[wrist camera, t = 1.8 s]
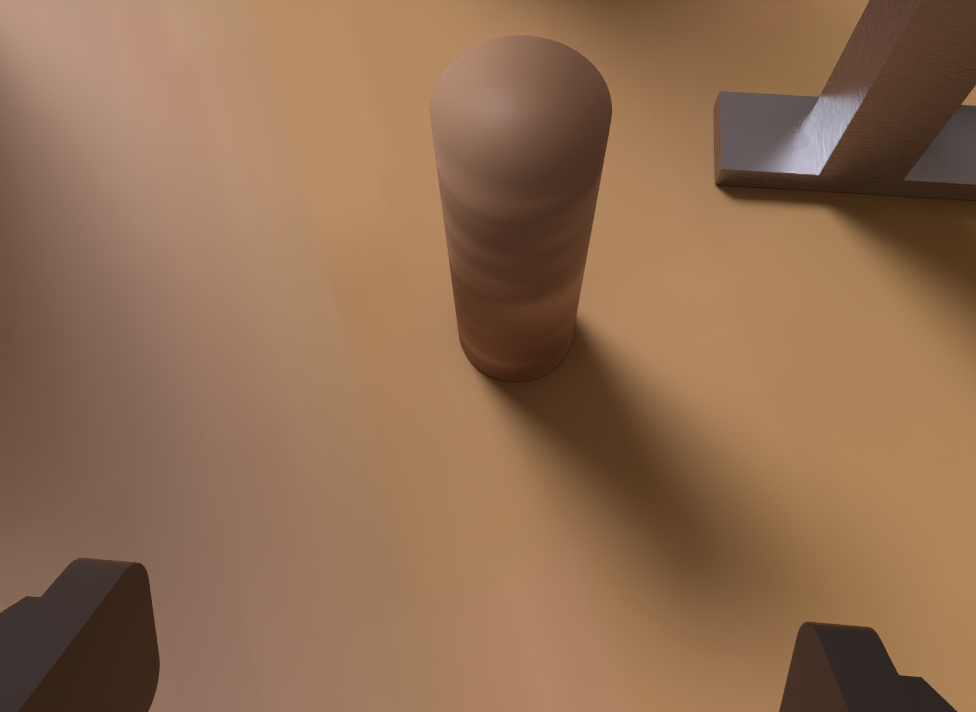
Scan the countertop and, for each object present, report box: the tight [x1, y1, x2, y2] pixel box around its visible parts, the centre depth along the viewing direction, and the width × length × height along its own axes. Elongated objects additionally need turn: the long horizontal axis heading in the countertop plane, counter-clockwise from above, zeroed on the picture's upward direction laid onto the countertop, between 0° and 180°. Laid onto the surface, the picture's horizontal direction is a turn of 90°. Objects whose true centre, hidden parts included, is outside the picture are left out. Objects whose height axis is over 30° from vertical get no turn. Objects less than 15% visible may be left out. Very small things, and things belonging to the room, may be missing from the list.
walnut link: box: [430, 36, 612, 382], centre depth 24 cm, size 4×4×12 cm
